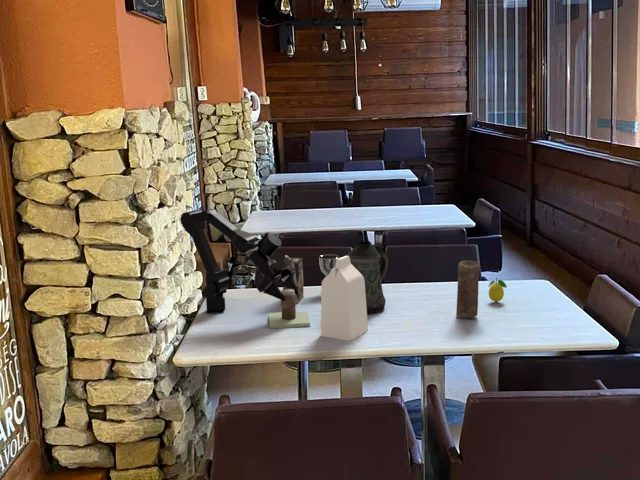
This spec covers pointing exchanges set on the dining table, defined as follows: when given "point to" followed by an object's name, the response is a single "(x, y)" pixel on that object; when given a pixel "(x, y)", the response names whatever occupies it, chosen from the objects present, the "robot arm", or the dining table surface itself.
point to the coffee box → (297, 277)
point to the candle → (467, 289)
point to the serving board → (299, 321)
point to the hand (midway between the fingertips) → (291, 297)
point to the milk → (343, 302)
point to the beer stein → (371, 273)
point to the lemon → (496, 290)
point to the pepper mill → (288, 305)
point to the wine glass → (327, 263)
